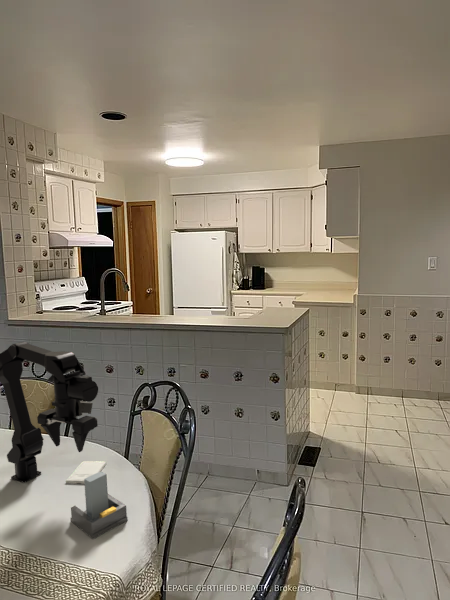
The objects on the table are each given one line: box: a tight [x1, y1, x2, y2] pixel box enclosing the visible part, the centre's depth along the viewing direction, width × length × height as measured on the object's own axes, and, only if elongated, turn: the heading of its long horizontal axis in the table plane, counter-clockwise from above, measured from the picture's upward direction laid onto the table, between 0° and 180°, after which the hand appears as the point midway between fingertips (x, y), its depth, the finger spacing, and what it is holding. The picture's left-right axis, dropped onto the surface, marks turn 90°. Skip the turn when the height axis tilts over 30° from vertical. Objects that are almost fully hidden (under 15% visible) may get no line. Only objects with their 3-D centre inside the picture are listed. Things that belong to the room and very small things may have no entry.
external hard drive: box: [65, 460, 107, 485], centre depth 141 cm, size 2×8×12 cm
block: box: [84, 471, 109, 519], centre depth 115 cm, size 2×5×11 cm, turn 141°
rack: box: [70, 493, 129, 540], centre depth 115 cm, size 11×10×5 cm
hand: (69, 448), depth 129 cm, fingers open, 9 cm apart
